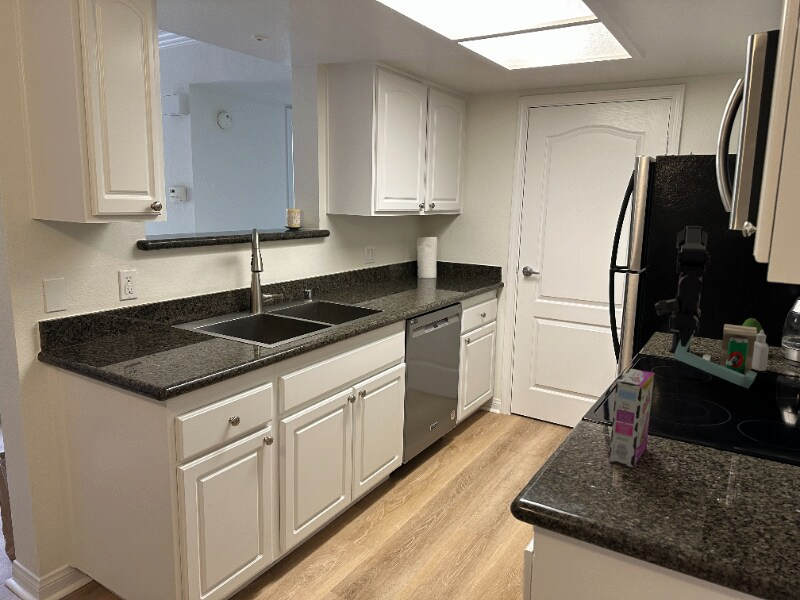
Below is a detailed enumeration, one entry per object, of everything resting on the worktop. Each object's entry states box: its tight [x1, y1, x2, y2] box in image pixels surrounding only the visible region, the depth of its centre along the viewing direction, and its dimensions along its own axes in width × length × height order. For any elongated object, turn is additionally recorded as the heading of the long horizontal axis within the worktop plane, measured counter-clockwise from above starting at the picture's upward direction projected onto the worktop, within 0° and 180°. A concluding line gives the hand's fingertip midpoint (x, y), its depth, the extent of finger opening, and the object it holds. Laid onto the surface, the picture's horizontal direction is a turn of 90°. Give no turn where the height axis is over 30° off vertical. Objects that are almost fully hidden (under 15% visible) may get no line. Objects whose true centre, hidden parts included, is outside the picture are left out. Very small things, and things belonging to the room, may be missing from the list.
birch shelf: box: [719, 323, 757, 375], centre depth 166 cm, size 8×8×14 cm
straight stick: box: [701, 354, 712, 361], centre depth 182 cm, size 10×2×2 cm, turn 148°
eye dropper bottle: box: [751, 329, 770, 372], centre depth 176 cm, size 4×6×12 cm
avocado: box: [741, 317, 763, 341], centre depth 194 cm, size 8×8×12 cm
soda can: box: [726, 336, 749, 375], centre depth 166 cm, size 5×5×12 cm
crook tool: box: [672, 334, 758, 389], centre depth 166 cm, size 9×20×8 cm, turn 51°
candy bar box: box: [608, 368, 655, 469], centre depth 114 cm, size 11×5×16 cm, turn 145°
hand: (683, 345), depth 168 cm, fingers closed on crook tool, 3 cm apart
